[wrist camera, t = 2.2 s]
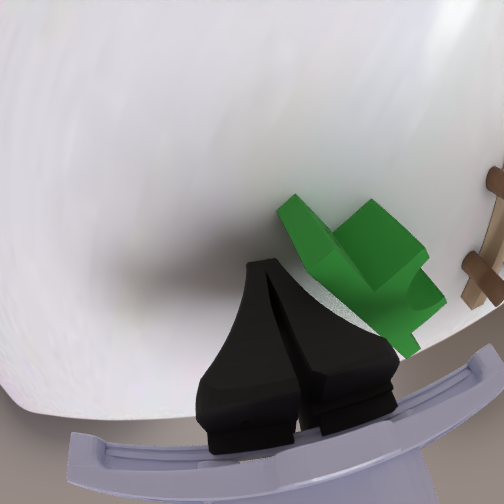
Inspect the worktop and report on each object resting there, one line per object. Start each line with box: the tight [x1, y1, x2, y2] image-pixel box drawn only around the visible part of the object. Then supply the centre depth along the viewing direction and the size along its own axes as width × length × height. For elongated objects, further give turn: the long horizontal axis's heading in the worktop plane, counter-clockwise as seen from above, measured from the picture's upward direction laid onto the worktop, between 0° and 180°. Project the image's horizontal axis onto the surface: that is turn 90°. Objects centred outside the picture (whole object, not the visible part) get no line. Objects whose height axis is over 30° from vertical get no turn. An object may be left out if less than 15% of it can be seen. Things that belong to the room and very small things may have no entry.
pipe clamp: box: [277, 194, 447, 359], centre depth 12 cm, size 11×4×5 cm, turn 45°
